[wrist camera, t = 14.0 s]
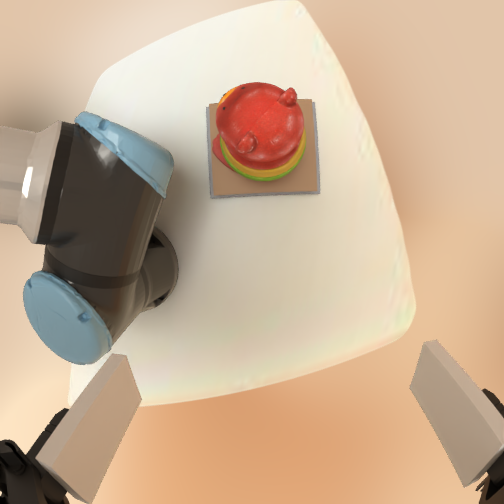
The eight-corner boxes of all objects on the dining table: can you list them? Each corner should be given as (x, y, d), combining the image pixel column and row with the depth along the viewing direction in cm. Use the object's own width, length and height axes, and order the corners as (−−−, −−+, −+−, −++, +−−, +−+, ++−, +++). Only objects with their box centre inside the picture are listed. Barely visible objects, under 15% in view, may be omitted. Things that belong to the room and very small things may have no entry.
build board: (212, 197, 41) (206, 199, 37) (207, 109, 38) (201, 101, 34) (318, 193, 40) (324, 194, 36) (313, 104, 37) (318, 96, 33)
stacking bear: (263, 94, 33) (263, 29, 16) (316, 145, 35) (360, 117, 17) (206, 147, 35) (159, 120, 18) (258, 199, 37) (254, 215, 19)
